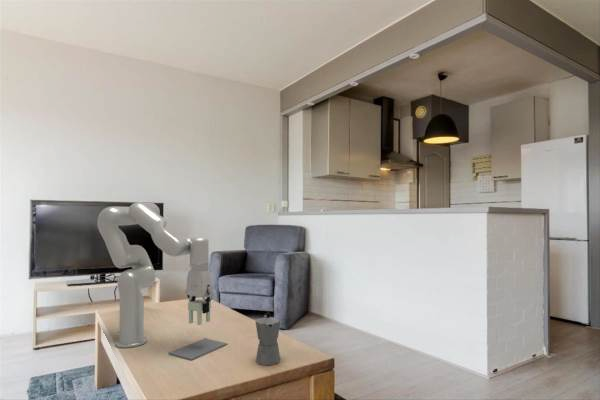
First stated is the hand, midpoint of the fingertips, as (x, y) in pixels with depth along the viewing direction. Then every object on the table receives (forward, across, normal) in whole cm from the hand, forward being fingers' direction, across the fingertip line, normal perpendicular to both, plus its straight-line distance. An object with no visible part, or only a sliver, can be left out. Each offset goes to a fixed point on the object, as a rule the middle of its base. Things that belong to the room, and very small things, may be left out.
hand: (199, 311), depth 154 cm
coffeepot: (+16, +31, +5) cm, 35 cm away
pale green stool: (+4, 0, 0) cm, 4 cm away
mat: (+15, 0, 0) cm, 15 cm away
